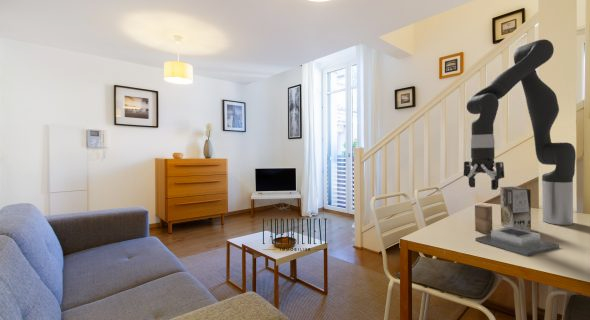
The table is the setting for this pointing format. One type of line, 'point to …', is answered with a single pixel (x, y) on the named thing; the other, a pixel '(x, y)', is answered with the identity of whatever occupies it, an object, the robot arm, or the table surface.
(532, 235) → the stepped grey base plate
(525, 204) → the coffee box
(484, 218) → the brown rectangular block
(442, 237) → the table surface
